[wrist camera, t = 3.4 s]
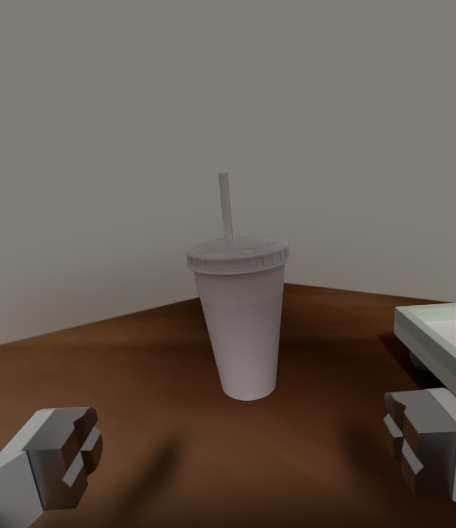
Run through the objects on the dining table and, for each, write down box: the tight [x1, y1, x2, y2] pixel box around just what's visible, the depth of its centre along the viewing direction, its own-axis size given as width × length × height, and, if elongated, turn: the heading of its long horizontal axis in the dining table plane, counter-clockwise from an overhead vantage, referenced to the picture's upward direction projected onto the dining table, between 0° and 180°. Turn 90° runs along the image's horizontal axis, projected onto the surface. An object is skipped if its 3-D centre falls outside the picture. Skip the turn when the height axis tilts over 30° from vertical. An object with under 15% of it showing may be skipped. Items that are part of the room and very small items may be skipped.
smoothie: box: [186, 173, 290, 401], centre depth 21 cm, size 6×6×14 cm
